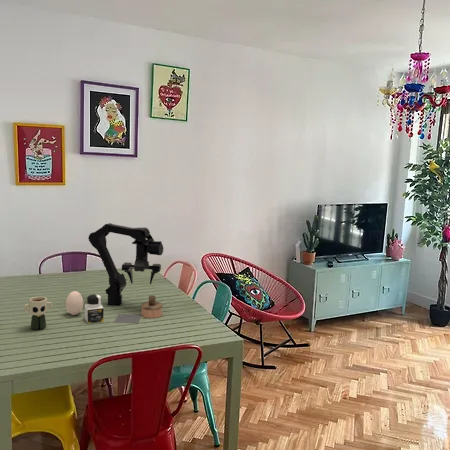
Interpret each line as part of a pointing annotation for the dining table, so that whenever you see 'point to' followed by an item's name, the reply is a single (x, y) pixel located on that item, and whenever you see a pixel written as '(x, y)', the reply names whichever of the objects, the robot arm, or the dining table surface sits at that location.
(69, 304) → the egg
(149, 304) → the lid
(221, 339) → the dining table surface
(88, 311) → the white boxy piece
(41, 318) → the character mug
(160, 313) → the bowl
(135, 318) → the mat
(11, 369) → the dining table surface
